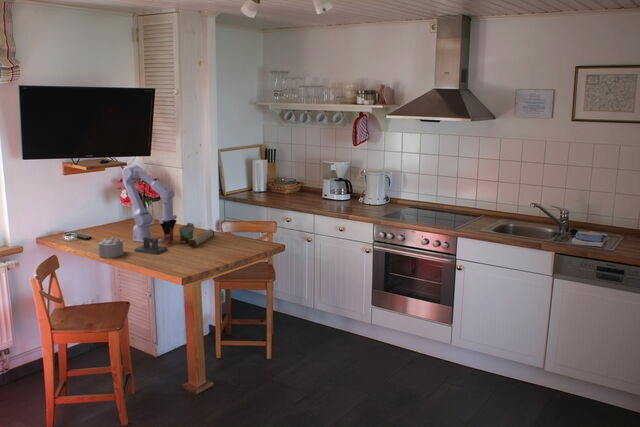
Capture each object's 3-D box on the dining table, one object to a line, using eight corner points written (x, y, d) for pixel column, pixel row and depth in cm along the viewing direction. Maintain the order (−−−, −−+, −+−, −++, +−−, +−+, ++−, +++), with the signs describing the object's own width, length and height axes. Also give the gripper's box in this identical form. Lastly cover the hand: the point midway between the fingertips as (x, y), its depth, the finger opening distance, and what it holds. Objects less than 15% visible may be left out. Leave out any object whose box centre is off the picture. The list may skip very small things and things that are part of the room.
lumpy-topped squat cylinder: (96, 256, 317) (95, 240, 315) (112, 250, 329) (111, 235, 327) (112, 258, 314) (111, 243, 312) (128, 252, 326) (127, 237, 324)
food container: (189, 245, 342) (189, 228, 340) (179, 244, 343) (179, 227, 341) (198, 239, 354) (197, 223, 352) (188, 238, 355) (187, 222, 353)
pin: (167, 240, 347) (166, 227, 345) (173, 241, 346) (172, 227, 344) (153, 246, 335) (152, 232, 333) (159, 247, 333) (158, 233, 332)
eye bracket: (145, 246, 337) (145, 234, 335) (167, 249, 332) (166, 237, 330) (134, 251, 327) (134, 239, 326) (156, 254, 323) (156, 242, 321)
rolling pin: (193, 250, 334) (192, 241, 332) (184, 249, 335) (183, 240, 334) (217, 236, 364) (217, 228, 363) (209, 235, 365) (209, 227, 364)
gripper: (166, 213, 333) (167, 236, 336) (180, 208, 346) (181, 231, 349) (155, 212, 335) (156, 235, 338) (170, 207, 349) (171, 229, 352)
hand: (168, 233), depth 344 cm, fingers open, 4 cm apart
